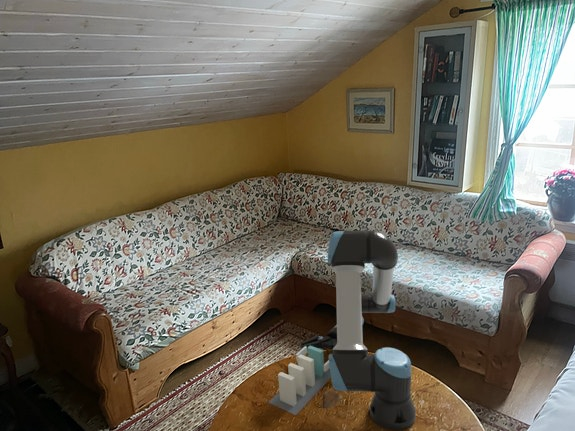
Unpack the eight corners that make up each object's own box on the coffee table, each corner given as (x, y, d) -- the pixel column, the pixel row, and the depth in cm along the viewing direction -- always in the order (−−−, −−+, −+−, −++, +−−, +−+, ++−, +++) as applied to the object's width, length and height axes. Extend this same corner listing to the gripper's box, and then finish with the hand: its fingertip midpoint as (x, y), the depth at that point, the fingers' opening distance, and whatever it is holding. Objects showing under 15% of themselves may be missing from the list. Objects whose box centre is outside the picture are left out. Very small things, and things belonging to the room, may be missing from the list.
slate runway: (337, 372, 179) (337, 370, 179) (295, 417, 158) (295, 415, 158) (311, 363, 186) (311, 360, 186) (268, 404, 165) (268, 402, 165)
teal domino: (324, 374, 177) (323, 350, 174) (321, 377, 176) (320, 352, 172) (311, 369, 181) (310, 345, 177) (308, 372, 179) (307, 347, 176)
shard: (322, 416, 159) (322, 412, 158) (308, 404, 164) (308, 400, 164) (345, 401, 165) (345, 397, 164) (330, 390, 171) (330, 386, 170)
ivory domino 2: (306, 393, 168) (304, 368, 164) (303, 396, 166) (301, 370, 163) (292, 387, 171) (290, 362, 168) (289, 390, 170) (288, 365, 166)
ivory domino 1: (296, 403, 163) (294, 377, 160) (293, 406, 162) (291, 380, 158) (283, 397, 167) (281, 371, 163) (280, 400, 165) (277, 374, 162)
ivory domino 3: (315, 384, 172) (313, 359, 169) (312, 387, 171) (311, 361, 168) (301, 378, 176) (300, 354, 172) (299, 381, 174) (297, 356, 171)
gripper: (365, 351, 184) (338, 382, 168) (315, 334, 198) (285, 361, 181) (365, 335, 182) (337, 365, 165) (314, 319, 195) (284, 344, 179)
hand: (310, 363), depth 173 cm, fingers open, 12 cm apart
